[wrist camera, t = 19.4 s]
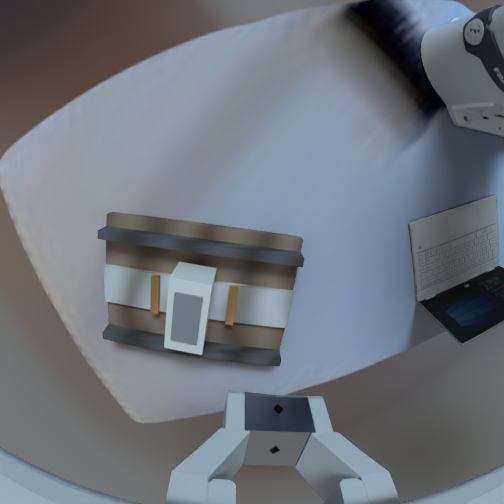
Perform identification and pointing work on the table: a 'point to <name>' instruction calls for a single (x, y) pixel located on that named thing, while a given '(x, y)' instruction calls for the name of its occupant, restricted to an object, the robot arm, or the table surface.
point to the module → (188, 307)
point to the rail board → (224, 292)
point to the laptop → (460, 268)
